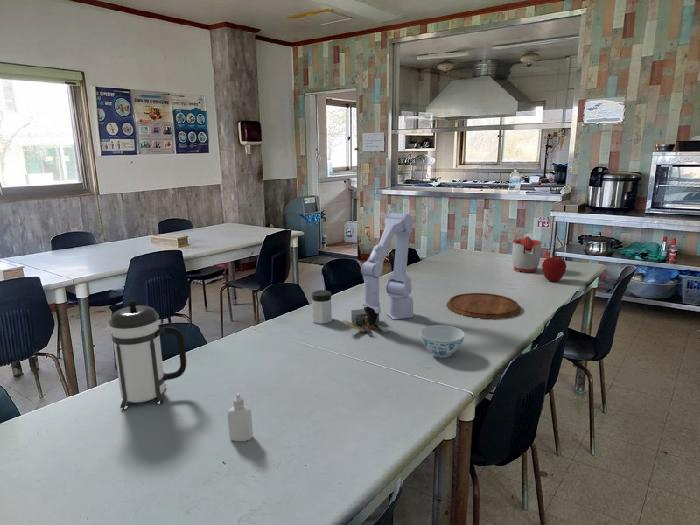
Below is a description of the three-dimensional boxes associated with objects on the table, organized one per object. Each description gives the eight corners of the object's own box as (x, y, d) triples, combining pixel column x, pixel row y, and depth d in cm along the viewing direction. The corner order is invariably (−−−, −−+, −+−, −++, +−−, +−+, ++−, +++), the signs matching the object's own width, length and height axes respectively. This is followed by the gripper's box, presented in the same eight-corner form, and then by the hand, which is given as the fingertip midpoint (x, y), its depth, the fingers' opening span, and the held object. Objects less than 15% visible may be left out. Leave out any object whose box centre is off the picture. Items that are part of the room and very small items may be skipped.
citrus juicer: (513, 274, 271) (515, 239, 266) (508, 266, 288) (510, 233, 283) (543, 275, 268) (545, 239, 264) (536, 267, 285) (539, 234, 280)
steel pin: (364, 318, 205) (364, 307, 204) (374, 327, 194) (374, 317, 193) (357, 319, 204) (357, 308, 203) (367, 328, 193) (367, 317, 192)
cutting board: (439, 315, 208) (440, 309, 208) (453, 294, 237) (453, 289, 236) (518, 324, 196) (518, 318, 196) (522, 301, 225) (523, 296, 225)
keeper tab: (361, 330, 192) (363, 327, 192) (365, 333, 188) (366, 330, 188) (342, 321, 189) (343, 318, 189) (345, 325, 185) (346, 322, 185)
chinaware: (436, 341, 179) (437, 322, 177) (472, 353, 169) (473, 332, 167) (411, 354, 169) (411, 333, 167) (447, 367, 158) (448, 345, 157)
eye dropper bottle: (239, 430, 125) (236, 387, 122) (255, 437, 122) (252, 393, 119) (226, 438, 121) (223, 395, 118) (242, 445, 118) (239, 401, 115)
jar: (317, 325, 198) (316, 297, 195) (308, 319, 204) (307, 292, 202) (336, 320, 203) (335, 293, 200) (326, 315, 209) (325, 288, 206)
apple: (568, 283, 251) (571, 258, 247) (546, 284, 251) (548, 259, 248) (559, 277, 262) (561, 253, 259) (537, 278, 262) (539, 253, 259)
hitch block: (374, 319, 204) (374, 307, 203) (390, 334, 187) (390, 321, 186) (351, 321, 201) (351, 310, 200) (365, 337, 184) (365, 324, 183)
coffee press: (139, 418, 131) (126, 312, 124) (105, 402, 139) (90, 303, 133) (191, 391, 145) (181, 295, 139) (156, 378, 154) (146, 287, 147)
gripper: (356, 287, 194) (356, 320, 197) (368, 298, 181) (368, 332, 184) (372, 286, 196) (373, 318, 199) (386, 296, 183) (385, 330, 186)
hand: (372, 324), depth 192 cm, fingers closed
